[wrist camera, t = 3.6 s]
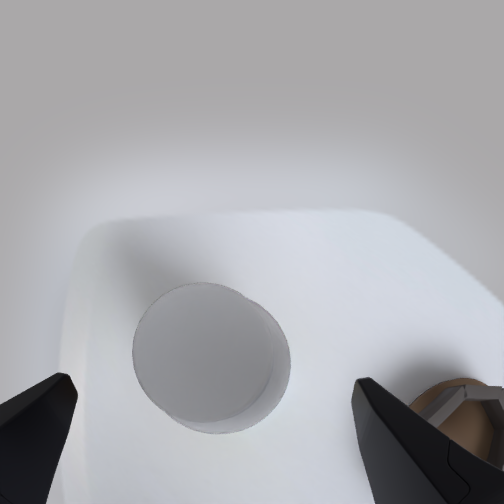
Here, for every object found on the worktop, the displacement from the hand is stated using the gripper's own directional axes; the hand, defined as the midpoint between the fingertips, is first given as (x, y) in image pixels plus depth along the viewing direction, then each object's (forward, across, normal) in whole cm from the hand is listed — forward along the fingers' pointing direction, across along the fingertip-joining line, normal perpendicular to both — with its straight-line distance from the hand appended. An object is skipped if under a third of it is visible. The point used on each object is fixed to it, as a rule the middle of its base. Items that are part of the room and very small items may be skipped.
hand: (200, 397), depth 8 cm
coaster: (+2, -14, +10) cm, 17 cm away
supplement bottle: (+7, 0, +6) cm, 9 cm away
